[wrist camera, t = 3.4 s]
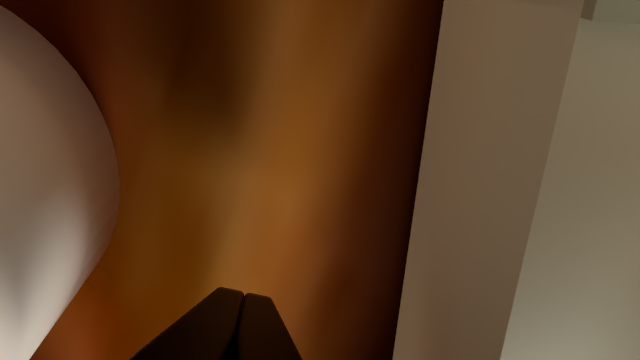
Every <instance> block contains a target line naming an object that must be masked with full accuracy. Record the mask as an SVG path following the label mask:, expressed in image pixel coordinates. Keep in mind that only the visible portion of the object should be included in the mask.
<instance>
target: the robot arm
mask: <svg viewBox="0 0 640 360" xmlns="http://www.w3.org/2000/svg"><path fill="white" fill-rule="evenodd" d="M243 299H244V300H243ZM242 304H243V305H242ZM241 308H242V309H241ZM239 317H240V318H239ZM128 360H302V358H301V356H300V354H299V352H298V350H297V348H296V346H295V344H294V342H293V340H292V338H291V336H290V334H289V332H288V330H287V328H286V326H285V324H284V322H283V320H282V318H281V317H280V315H279V313H278V311H277V309H276V307H275V305H274V303H273V301H272V299H271V298H270V297H267V296H262V295H257V294H252V293H247V294H246V295H245V296H244V294H243V292H241V291H238V290H233V289H229V288H224V287H219V288H217V289H216V290H215V291H213V292H212V293H211V294H210V295H208V296H207V297H206V298H205V299H203V300H202V301H201V302H200V303H198V304H197V305H196V306H195V307H193V308H192V309H191V310H190V311H188V312H187V313H186V314H185V315H183V316H182V317H181V318H180V319H178V320H177V321H176V322H175V323H173V324H172V325H171V326H170V327H168V328H167V329H166V330H165V331H163V332H162V333H161V334H160V335H158V336H157V337H156V338H155V339H153V340H152V341H151V342H150V343H148V344H147V345H146V346H145V347H143V348H142V349H141V350H140V351H138V352H137V353H136V354H134V355H133V356H132V357H131V358H129V359H128Z"/></svg>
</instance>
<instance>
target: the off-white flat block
mask: <svg viewBox="0 0 640 360" xmlns="http://www.w3.org/2000/svg"><path fill="white" fill-rule="evenodd" d="M392 360H640V0H444V4H443V11H442V18H441V25H440V32H439V39H438V46H437V53H436V60H435V67H434V74H433V81H432V88H431V95H430V102H429V108H428V115H427V122H426V129H425V136H424V143H423V150H422V157H421V164H420V171H419V178H418V185H417V192H416V199H415V206H414V213H413V220H412V227H411V234H410V240H409V247H408V254H407V261H406V268H405V275H404V282H403V289H402V296H401V303H400V310H399V317H398V324H397V331H396V338H395V345H394V352H393V359H392Z"/></svg>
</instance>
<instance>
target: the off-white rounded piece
mask: <svg viewBox="0 0 640 360" xmlns="http://www.w3.org/2000/svg"><path fill="white" fill-rule="evenodd" d="M119 200H120V179H119V169H118V161H117V157H116V153H115V149H114V144H113V140H112V138H111V135H110V132H109V130H108V127H107V124H106V122H105V119H104V117H103V115H102V113H101V111H100V109H99V107H98V105H97V103H96V101H95V100H94V98H93V96H92V94H91V92H90V91H89V89H88V88H87V87H86V85H85V84H84V82H83V81H82V79H81V78H80V76H79V75H78V73H77V72H76V71H75V70H74V68H73V67H72V66H71V65H70V64H69V63H68V61H67V60H66V59H65V58H64V57H63V56H62V55H61V53H60V52H59V51H58V50H57V49H56V48H55V47H54V46H53V45H52V44H51V43H50V42H48V41H47V40H46V39H45V38H44V37H43V36H42V35H41V34H40V33H39V32H38V31H37V30H35V29H34V28H33V27H31V26H30V25H29V24H27V23H26V22H25V21H23V20H22V19H20V18H19V17H18V16H16V15H15V14H14V13H12V12H11V11H9V10H7V9H6V8H4V7H2V6H0V360H29V359H30V358H31V356H32V355H33V354H34V352H35V351H36V349H37V348H38V347H39V345H40V344H41V342H42V341H43V340H44V338H45V337H46V335H47V334H48V333H49V331H50V330H51V328H52V327H53V325H54V324H55V323H56V321H57V320H58V318H59V317H60V316H61V314H62V313H63V311H64V310H65V309H66V307H67V306H68V304H69V303H70V302H71V300H72V299H73V297H74V296H75V295H76V293H77V292H78V290H79V289H80V288H81V286H82V285H83V283H84V282H85V280H86V279H87V278H88V276H89V275H90V273H91V272H92V271H93V269H94V268H95V266H96V265H97V264H98V262H99V261H100V259H101V257H102V255H103V254H104V252H105V250H106V248H107V246H108V245H109V242H110V239H111V237H112V234H113V231H114V228H115V225H116V220H117V215H118V210H119Z"/></svg>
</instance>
